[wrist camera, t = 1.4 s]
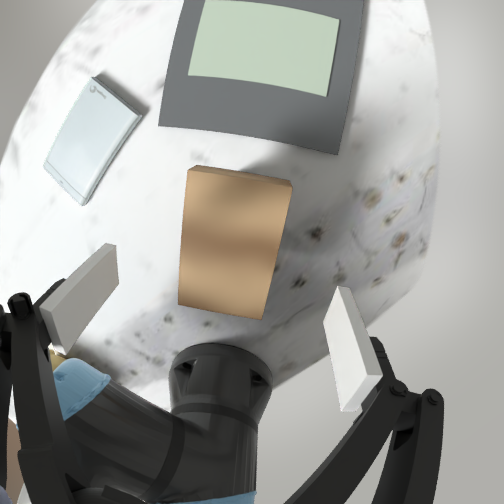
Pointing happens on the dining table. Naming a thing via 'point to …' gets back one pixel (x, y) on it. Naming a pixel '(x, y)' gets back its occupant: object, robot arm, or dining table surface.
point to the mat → (264, 69)
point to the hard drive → (89, 139)
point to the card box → (230, 239)
